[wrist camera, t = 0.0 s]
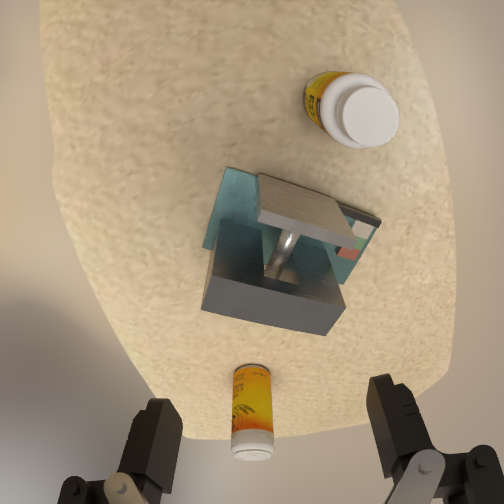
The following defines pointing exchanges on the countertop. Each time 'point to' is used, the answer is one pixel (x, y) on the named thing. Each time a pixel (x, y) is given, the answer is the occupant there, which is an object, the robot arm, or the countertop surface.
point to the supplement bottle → (352, 108)
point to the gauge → (258, 253)
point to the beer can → (252, 414)
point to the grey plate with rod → (302, 218)
